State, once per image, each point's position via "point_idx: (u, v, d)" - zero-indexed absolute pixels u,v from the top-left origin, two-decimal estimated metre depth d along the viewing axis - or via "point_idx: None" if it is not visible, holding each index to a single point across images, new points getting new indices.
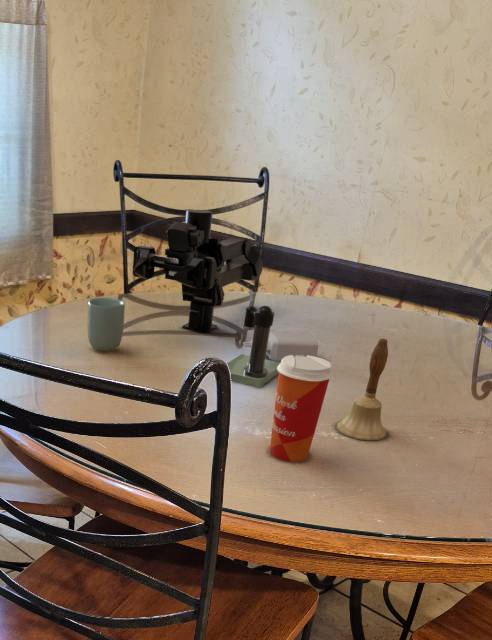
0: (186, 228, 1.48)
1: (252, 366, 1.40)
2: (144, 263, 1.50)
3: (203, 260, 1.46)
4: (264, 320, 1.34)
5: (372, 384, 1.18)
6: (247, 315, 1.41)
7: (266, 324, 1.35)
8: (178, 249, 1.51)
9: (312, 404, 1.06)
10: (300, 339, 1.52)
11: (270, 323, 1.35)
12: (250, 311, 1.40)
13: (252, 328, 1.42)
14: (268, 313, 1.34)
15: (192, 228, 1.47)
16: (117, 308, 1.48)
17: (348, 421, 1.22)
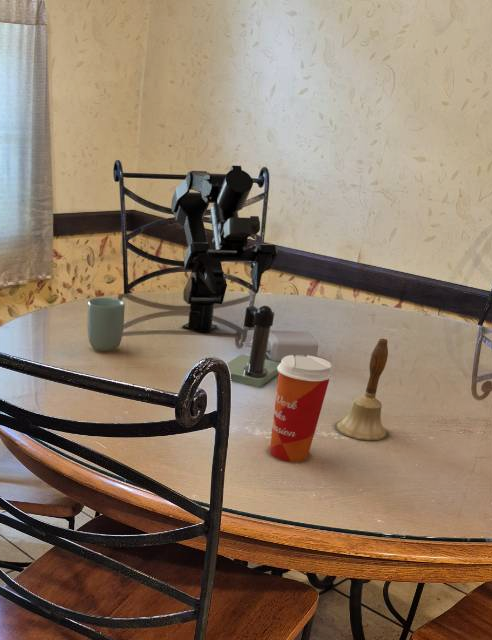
0: (249, 228, 1.42)
1: (252, 366, 1.40)
2: None
3: (270, 256, 1.47)
4: (264, 320, 1.34)
5: (372, 384, 1.18)
6: (247, 315, 1.41)
7: (266, 324, 1.35)
8: (234, 239, 1.46)
9: (312, 404, 1.06)
10: (300, 339, 1.52)
11: (270, 323, 1.35)
12: (250, 311, 1.40)
13: (252, 328, 1.42)
14: (268, 313, 1.34)
15: (254, 225, 1.42)
16: (117, 308, 1.48)
17: (348, 421, 1.22)
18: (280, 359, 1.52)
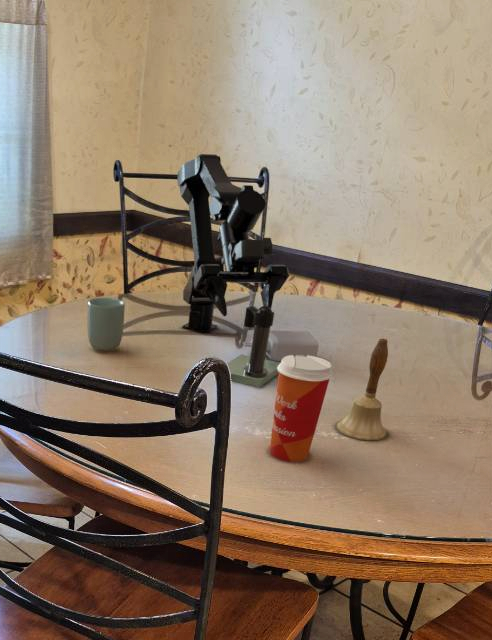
0: (262, 250, 1.39)
1: (252, 366, 1.40)
2: None
3: (282, 278, 1.44)
4: (264, 320, 1.34)
5: (372, 384, 1.18)
6: (247, 315, 1.41)
7: (266, 324, 1.35)
8: (245, 261, 1.43)
9: (312, 404, 1.06)
10: (300, 339, 1.52)
11: (270, 323, 1.35)
12: (250, 311, 1.40)
13: (252, 328, 1.42)
14: (268, 313, 1.34)
15: (267, 247, 1.39)
16: (117, 308, 1.48)
17: (348, 421, 1.22)
18: (280, 359, 1.52)
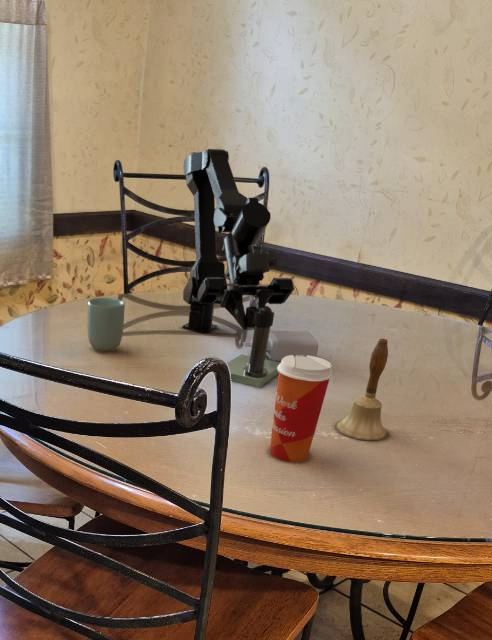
0: (267, 264, 1.37)
1: (252, 366, 1.40)
2: None
3: (272, 291, 1.42)
4: (264, 320, 1.34)
5: (372, 384, 1.18)
6: (247, 315, 1.41)
7: (266, 324, 1.35)
8: (250, 274, 1.41)
9: (312, 404, 1.06)
10: (300, 339, 1.52)
11: (270, 323, 1.35)
12: (250, 311, 1.40)
13: (252, 328, 1.42)
14: (268, 313, 1.34)
15: (272, 261, 1.37)
16: (117, 308, 1.48)
17: (348, 421, 1.22)
18: (280, 359, 1.52)
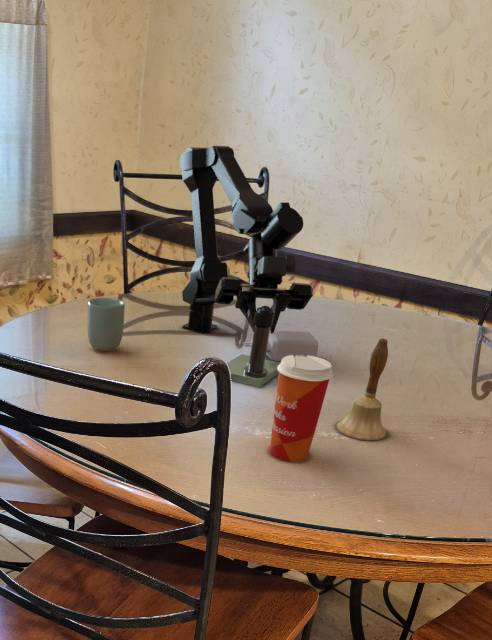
0: (284, 268, 1.36)
1: (252, 366, 1.40)
2: None
3: (290, 296, 1.41)
4: (260, 320, 1.35)
5: (372, 384, 1.18)
6: None
7: (263, 324, 1.35)
8: (268, 277, 1.41)
9: (312, 404, 1.06)
10: (300, 339, 1.52)
11: (267, 323, 1.35)
12: None
13: None
14: (266, 313, 1.34)
15: (289, 265, 1.37)
16: (117, 308, 1.48)
17: (348, 421, 1.22)
18: (280, 359, 1.52)
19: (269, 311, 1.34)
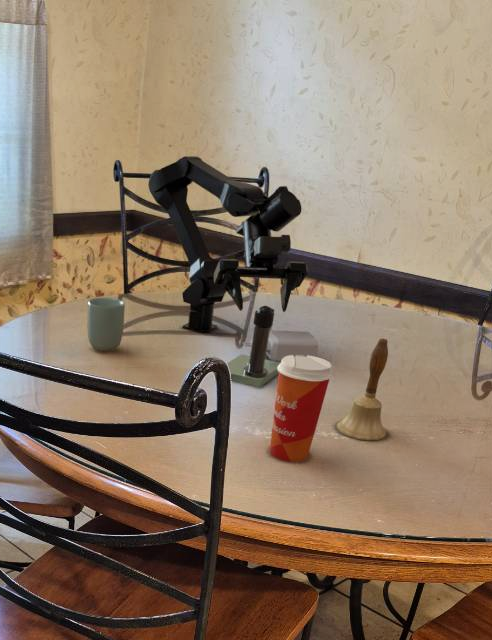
0: (279, 247, 1.42)
1: (252, 366, 1.40)
2: None
3: (300, 275, 1.47)
4: (259, 319, 1.35)
5: (372, 384, 1.18)
6: None
7: (261, 324, 1.35)
8: (264, 257, 1.46)
9: (312, 404, 1.06)
10: (300, 339, 1.52)
11: (266, 323, 1.35)
12: None
13: None
14: (264, 313, 1.34)
15: (285, 244, 1.42)
16: (117, 308, 1.48)
17: (348, 421, 1.22)
18: (280, 359, 1.52)
19: (268, 311, 1.34)
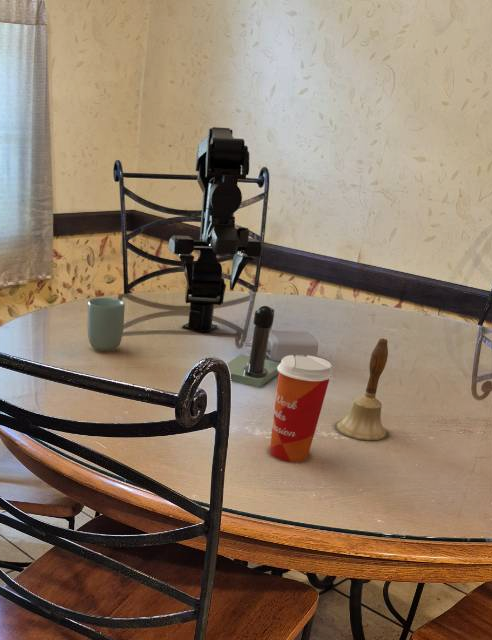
0: (235, 249, 1.40)
1: (252, 366, 1.40)
2: None
3: (253, 260, 1.47)
4: (259, 319, 1.35)
5: (372, 384, 1.18)
6: None
7: (261, 324, 1.35)
8: None
9: (312, 404, 1.06)
10: (300, 339, 1.52)
11: (266, 323, 1.35)
12: None
13: None
14: (264, 313, 1.34)
15: (241, 246, 1.40)
16: (117, 308, 1.48)
17: (348, 421, 1.22)
18: (280, 359, 1.52)
19: (268, 311, 1.34)
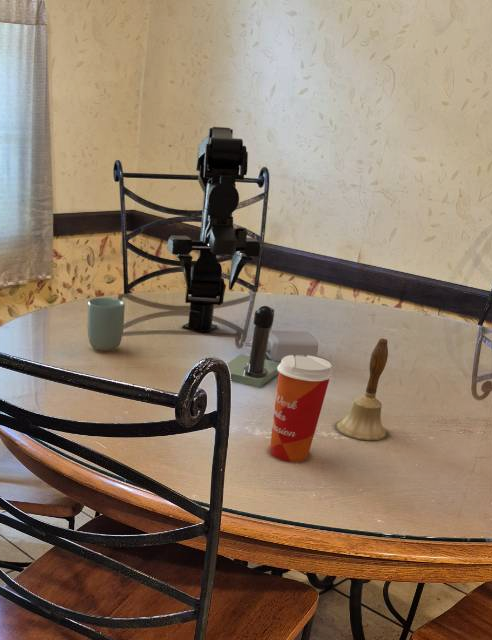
0: (233, 249, 1.40)
1: (252, 366, 1.40)
2: None
3: (252, 259, 1.47)
4: (259, 319, 1.35)
5: (372, 384, 1.18)
6: None
7: (261, 324, 1.35)
8: None
9: (312, 404, 1.06)
10: (300, 339, 1.52)
11: (266, 323, 1.35)
12: None
13: None
14: (264, 313, 1.34)
15: (239, 246, 1.40)
16: (117, 308, 1.48)
17: (348, 421, 1.22)
18: (280, 359, 1.52)
19: (268, 311, 1.34)
